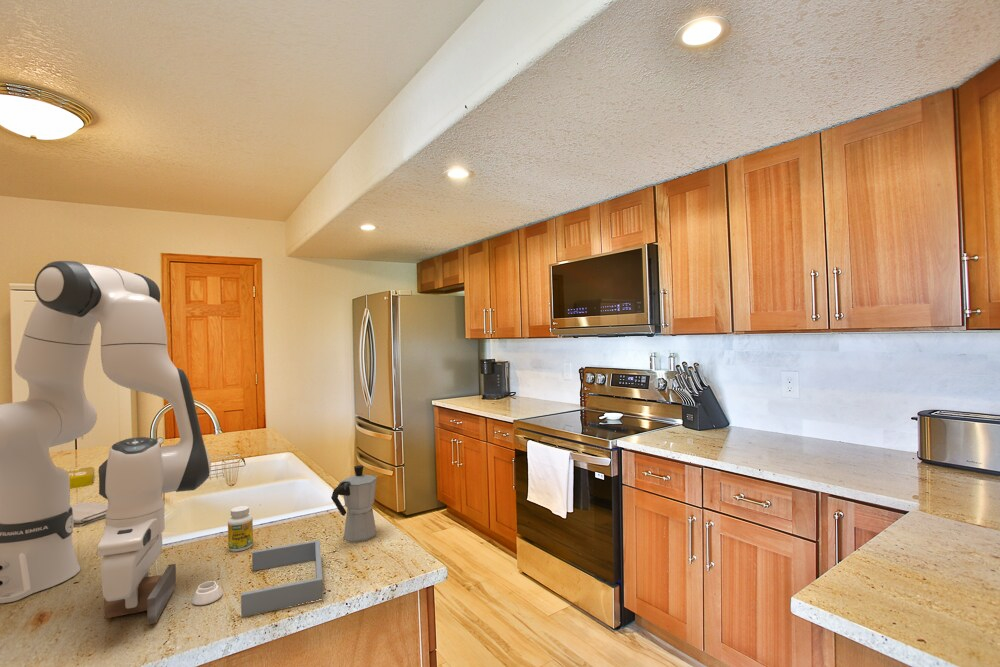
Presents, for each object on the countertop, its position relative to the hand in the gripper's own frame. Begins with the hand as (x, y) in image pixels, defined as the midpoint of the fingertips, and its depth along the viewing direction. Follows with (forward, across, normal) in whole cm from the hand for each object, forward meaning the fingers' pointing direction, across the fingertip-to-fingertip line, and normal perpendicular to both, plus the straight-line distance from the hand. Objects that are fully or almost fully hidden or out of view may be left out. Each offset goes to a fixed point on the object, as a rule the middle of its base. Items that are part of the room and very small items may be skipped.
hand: (136, 600), depth 89 cm
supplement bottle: (+3, -24, +14) cm, 28 cm away
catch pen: (+2, 0, +26) cm, 26 cm away
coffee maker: (+3, -18, +42) cm, 45 cm away
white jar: (+3, 0, +12) cm, 12 cm away
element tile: (+3, -112, -52) cm, 124 cm away
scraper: (+2, 0, 0) cm, 2 cm away
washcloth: (+3, -68, -33) cm, 75 cm away
